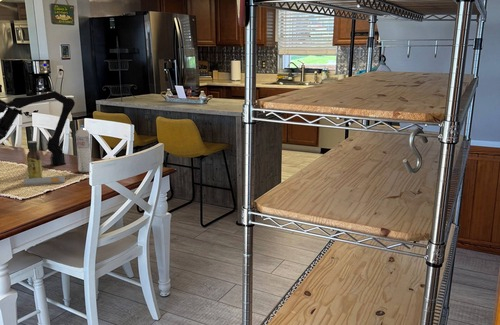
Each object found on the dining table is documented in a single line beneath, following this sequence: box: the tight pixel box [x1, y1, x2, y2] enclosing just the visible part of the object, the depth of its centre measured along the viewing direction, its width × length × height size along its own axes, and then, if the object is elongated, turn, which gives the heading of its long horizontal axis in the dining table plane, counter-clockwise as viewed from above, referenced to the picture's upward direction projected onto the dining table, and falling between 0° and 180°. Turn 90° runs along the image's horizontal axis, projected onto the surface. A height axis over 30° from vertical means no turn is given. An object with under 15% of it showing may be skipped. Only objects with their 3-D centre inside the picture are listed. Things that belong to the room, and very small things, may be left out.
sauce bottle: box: [26, 140, 43, 178], centre depth 218 cm, size 6×6×20 cm
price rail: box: [23, 175, 66, 186], centre depth 215 cm, size 18×1×3 cm, turn 108°
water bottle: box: [75, 124, 92, 173], centre depth 236 cm, size 7×7×25 cm
